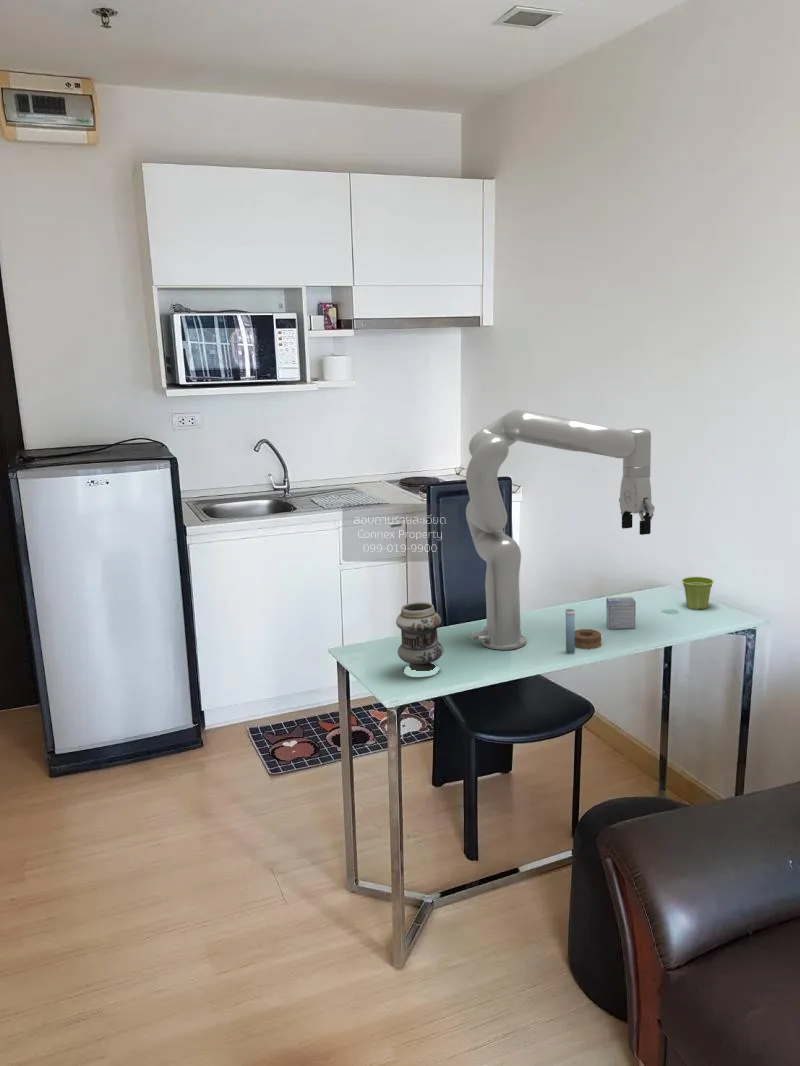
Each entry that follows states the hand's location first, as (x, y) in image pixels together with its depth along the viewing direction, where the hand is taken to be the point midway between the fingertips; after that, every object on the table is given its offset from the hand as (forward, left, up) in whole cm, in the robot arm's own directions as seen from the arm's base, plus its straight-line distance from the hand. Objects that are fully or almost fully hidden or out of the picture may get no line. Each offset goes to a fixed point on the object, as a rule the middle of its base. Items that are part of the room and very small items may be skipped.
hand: (635, 531), depth 234 cm
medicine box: (-4, +2, -29) cm, 30 cm away
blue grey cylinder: (-27, -12, -29) cm, 41 cm away
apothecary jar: (-69, -10, -29) cm, 75 cm away
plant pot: (+27, +10, -29) cm, 41 cm away
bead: (-20, -8, -29) cm, 36 cm away
